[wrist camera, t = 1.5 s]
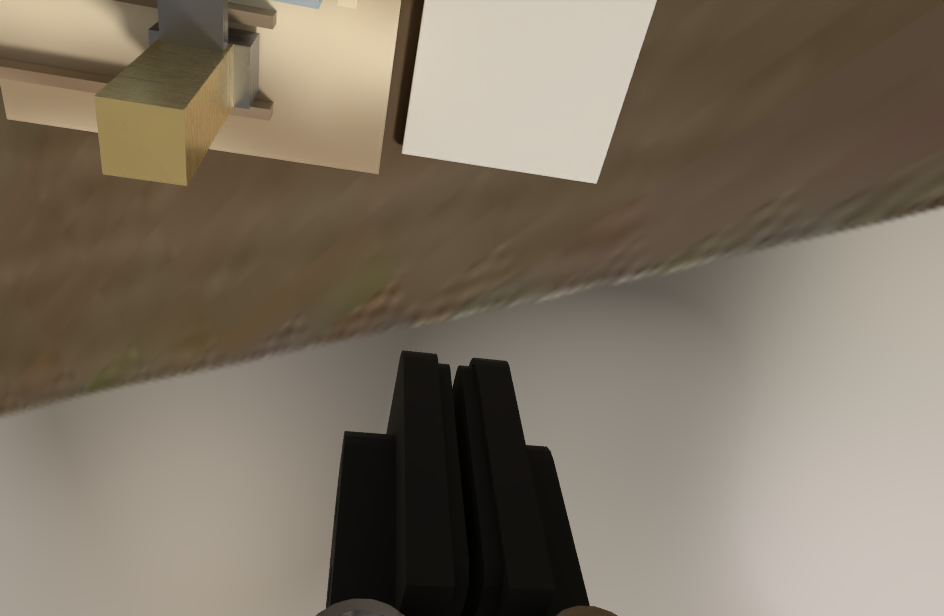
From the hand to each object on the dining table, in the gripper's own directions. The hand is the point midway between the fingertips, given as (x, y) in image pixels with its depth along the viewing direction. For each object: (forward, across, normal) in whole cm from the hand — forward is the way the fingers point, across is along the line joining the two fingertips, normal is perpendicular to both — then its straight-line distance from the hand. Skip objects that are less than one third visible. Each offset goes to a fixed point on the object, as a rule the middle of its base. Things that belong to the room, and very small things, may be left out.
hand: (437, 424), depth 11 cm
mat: (+21, -4, -2) cm, 21 cm away
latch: (+16, +7, -2) cm, 18 cm away
